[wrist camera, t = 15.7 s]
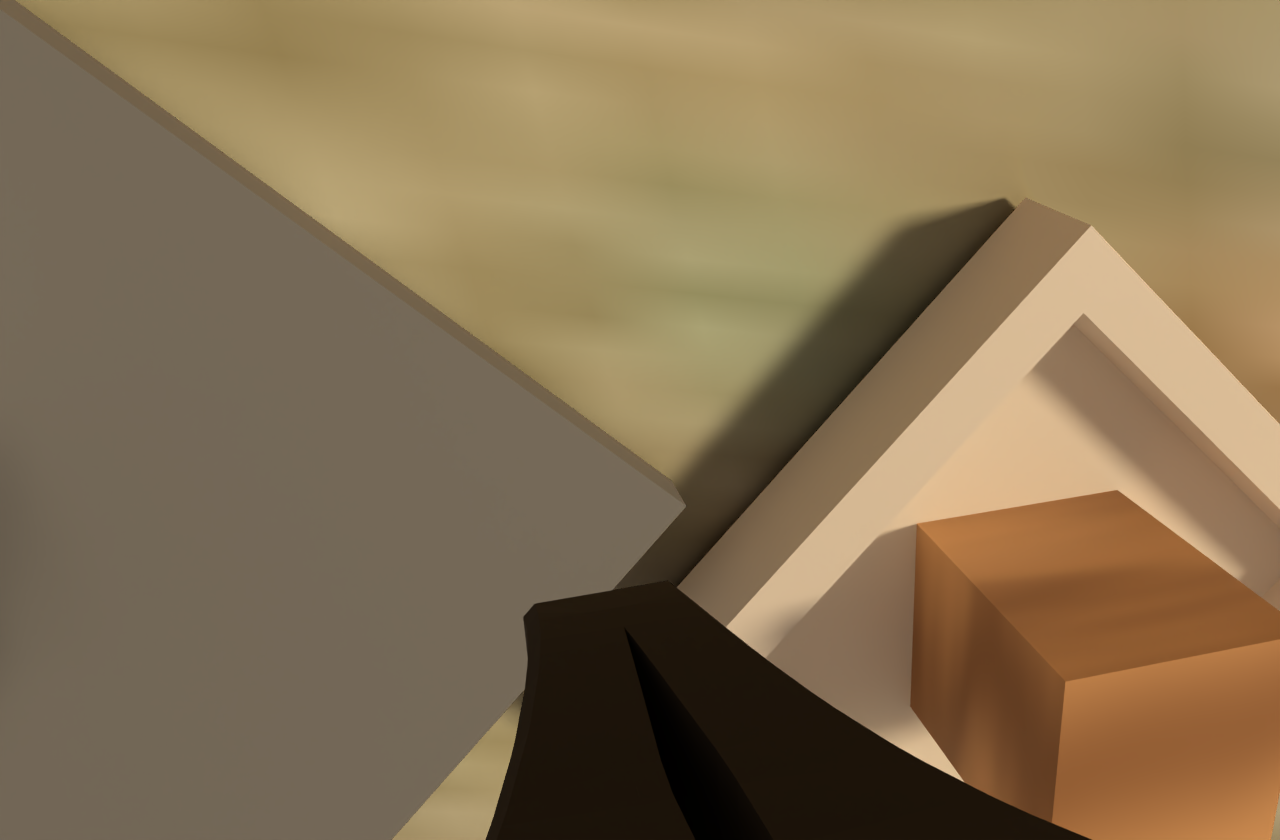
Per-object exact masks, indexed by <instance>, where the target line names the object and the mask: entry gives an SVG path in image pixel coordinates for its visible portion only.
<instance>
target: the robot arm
mask: <svg viewBox="0 0 1280 840" xmlns="http://www.w3.org/2000/svg"><path fill="white" fill-rule="evenodd" d="M523 621H524V629H525V638H526V647H527V656H528V662H527V673H526V682H525V691H524V697H523V702H522V707H521V712H520V717H519V723H518V728H517V733H516V738H515V743H514V747H513V751H512V755H511V759H510V763H509V766H508V769H507V773H506V776H505V780H504V783H503V787H502V790H501V793H500V797H499V800H498V804H497V807H496V810H495V814H494V817H493V820H492V823H491V826H490V829H489V832H488V834H487V837H486V840H1092V839H1089V838H1087V837H1085V836H1082V835H1080V834H1077V833H1075V832H1072V831H1070V830H1068V829H1065V828H1063V827H1060V826H1058V825H1055V824H1053V823H1051V822H1048V821H1046V820H1043V819H1041V818H1039V817H1036V816H1034V815H1031V814H1029V813H1027V812H1025V811H1023V810H1020V809H1018V808H1016V807H1014V806H1012V805H1010V804H1007V803H1005V802H1003V801H1001V800H999V799H996V798H994V797H992V796H990V795H988V794H986V793H984V792H982V791H980V790H978V789H976V788H974V787H972V786H971V785H969V784H967V783H965V782H963V781H961V780H959V779H957V778H955V777H953V776H951V775H949V774H947V773H945V772H943V771H941V770H939V769H937V768H936V767H934V766H932V765H930V764H928V763H926V762H924V761H922V760H920V759H918V758H917V757H915V756H913V755H911V754H910V753H908V752H906V751H904V750H903V749H901V748H899V747H897V746H896V745H894V744H892V743H890V742H889V741H887V740H885V739H884V738H882V737H881V736H879V735H877V734H876V733H874V732H873V731H871V730H869V729H868V728H866V727H865V726H863V725H862V724H860V723H858V722H857V721H855V720H854V719H852V718H850V717H849V716H847V715H846V714H844V713H842V712H841V711H839V710H838V709H836V708H834V707H833V706H831V705H830V704H829V703H827V702H826V701H824V700H823V699H821V698H820V697H818V696H817V695H815V694H814V693H812V692H811V691H810V690H808V689H807V688H805V687H804V686H803V685H801V684H800V683H798V682H797V681H796V680H794V679H793V678H792V677H790V676H789V675H787V674H786V673H785V672H783V671H782V670H781V669H779V668H778V667H776V666H775V665H774V664H772V663H771V662H770V661H768V660H767V659H766V658H764V657H763V656H762V655H761V654H759V653H758V652H757V651H755V650H754V649H753V648H751V647H750V646H749V645H748V644H746V643H745V642H744V641H743V640H741V639H740V638H739V637H738V636H736V635H735V634H734V633H732V632H731V631H730V630H729V629H727V628H726V627H725V626H724V625H723V624H721V623H720V622H719V621H718V620H716V619H715V618H714V617H713V616H711V615H710V614H709V613H708V612H706V611H705V610H704V609H703V608H702V607H700V606H699V605H698V604H697V603H695V602H694V601H693V600H692V599H690V598H689V597H688V596H687V595H685V594H684V593H683V592H682V591H680V590H679V589H678V588H676V587H675V586H674V585H673V584H671V583H670V582H669V581H663V582H657V583H652V584H646V585H640V586H634V587H628V588H622V589H617V590H611V591H605V592H599V593H593V594H587V595H582V596H576V597H570V598H564V599H558V600H552V601H547V602H541V603H535V604H534V605H533V606H532V607H531V608H530V610H529V611H528V612H527V613H526V614H525V615H524V616H523Z"/></svg>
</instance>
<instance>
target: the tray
mask: <svg viewBox="0 0 1280 840" xmlns="http://www.w3.org/2000/svg"><path fill="white" fill-rule="evenodd" d="M1114 490H1118V491H1120V492H1121V493H1122V494H1124V495H1125V496H1126V497H1128V498H1129V499H1130V500H1132V501H1133V502H1134V503H1136V504H1137V505H1138V506H1140V507H1141V508H1142V509H1144V510H1145V511H1146V512H1148V513H1149V514H1150V515H1152V516H1153V517H1154V518H1156V519H1157V520H1158V521H1160V522H1161V523H1162V524H1164V525H1165V526H1166V527H1168V528H1169V529H1170V530H1172V531H1173V532H1174V533H1176V534H1177V535H1178V536H1180V537H1181V538H1182V539H1184V540H1185V541H1186V542H1188V543H1189V544H1191V545H1192V546H1193V547H1195V548H1196V549H1197V550H1199V551H1200V552H1201V553H1203V554H1204V555H1205V556H1207V557H1208V558H1209V559H1211V560H1212V561H1213V562H1215V563H1216V564H1217V565H1219V566H1220V567H1221V568H1223V569H1224V570H1225V571H1227V572H1228V573H1229V574H1231V575H1232V576H1233V577H1235V578H1236V579H1237V580H1239V581H1240V582H1241V583H1243V584H1244V585H1245V586H1247V587H1248V588H1249V589H1251V590H1252V591H1253V592H1255V593H1256V594H1257V595H1259V596H1260V597H1261V598H1263V599H1264V600H1265V601H1267V602H1268V603H1269V604H1271V605H1272V606H1273V607H1275V608H1276V609H1277V610H1279V611H1280V424H1279V423H1278V422H1277V421H1276V420H1275V419H1274V418H1273V417H1272V416H1271V415H1270V414H1269V413H1268V412H1267V410H1266V409H1265V408H1264V407H1263V406H1262V405H1261V404H1260V403H1259V402H1258V401H1257V400H1256V399H1255V398H1254V397H1253V396H1252V395H1251V394H1250V393H1249V391H1248V390H1247V389H1246V388H1245V387H1244V386H1243V385H1242V384H1241V383H1240V382H1239V381H1238V380H1237V379H1236V378H1235V377H1234V376H1233V375H1232V373H1231V372H1230V371H1229V370H1228V369H1227V368H1226V367H1225V366H1224V365H1223V364H1222V363H1221V362H1220V361H1219V360H1218V359H1217V358H1216V357H1215V356H1214V354H1213V353H1212V352H1211V351H1210V350H1209V349H1208V348H1207V347H1206V346H1205V345H1204V344H1203V343H1202V342H1201V341H1200V340H1199V339H1198V338H1197V337H1196V335H1195V334H1194V333H1193V332H1192V331H1191V330H1190V329H1189V328H1188V327H1187V326H1186V325H1185V324H1184V323H1183V322H1182V321H1181V320H1180V319H1179V318H1178V316H1177V315H1176V314H1175V313H1174V312H1173V311H1172V310H1171V309H1170V308H1169V307H1168V306H1167V305H1166V304H1165V303H1164V302H1163V301H1162V300H1161V299H1160V297H1159V296H1158V295H1157V294H1156V293H1155V292H1154V291H1153V290H1152V289H1151V288H1150V287H1149V286H1148V285H1147V284H1146V283H1145V282H1144V281H1143V280H1142V278H1141V277H1140V276H1139V275H1138V274H1137V273H1136V272H1135V271H1134V270H1133V269H1132V268H1131V267H1130V266H1129V265H1128V264H1127V263H1126V262H1125V261H1124V259H1123V258H1122V257H1121V256H1120V255H1119V254H1118V253H1117V252H1116V251H1115V250H1114V249H1113V248H1112V247H1111V246H1110V245H1109V244H1108V243H1107V242H1106V240H1105V239H1104V238H1103V237H1102V236H1101V235H1100V234H1099V233H1098V232H1097V231H1096V230H1095V229H1094V228H1093V227H1092V226H1091V225H1089V224H1087V223H1084V222H1082V221H1080V220H1077V219H1075V218H1072V217H1070V216H1068V215H1065V214H1063V213H1061V212H1058V211H1056V210H1054V209H1051V208H1049V207H1046V206H1044V205H1042V204H1039V203H1037V202H1035V201H1032V200H1030V199H1028V198H1025V199H1024V200H1023V201H1022V202H1021V203H1020V204H1019V205H1018V207H1017V208H1016V209H1015V210H1014V211H1013V212H1012V213H1011V214H1010V215H1009V217H1008V218H1007V219H1006V220H1005V221H1004V222H1003V223H1002V224H1001V226H1000V227H999V228H998V229H997V230H996V231H995V232H994V233H993V234H992V236H991V237H990V238H989V239H988V240H987V241H986V242H985V243H984V245H983V246H982V247H981V248H980V249H979V250H978V251H977V252H976V253H975V255H974V256H973V257H972V258H971V259H970V260H969V261H968V262H967V264H966V265H965V266H964V267H963V268H962V269H961V270H960V271H959V272H958V274H957V275H956V276H955V277H954V278H953V279H952V280H951V281H950V283H949V284H948V285H947V286H946V287H945V288H944V289H943V290H942V291H941V293H940V294H939V295H938V296H937V297H936V298H935V299H934V300H933V302H932V303H931V304H930V305H929V306H928V307H927V308H926V309H925V310H924V312H923V313H922V314H921V315H920V316H919V317H918V318H917V319H916V321H915V322H914V323H913V324H912V325H911V326H910V327H909V328H908V329H907V331H906V332H905V333H904V334H903V335H902V336H901V337H900V338H899V340H898V341H897V342H896V343H895V344H894V345H893V346H892V347H891V348H890V350H889V351H888V352H887V353H886V354H885V355H884V356H883V357H882V359H881V360H880V361H879V362H878V363H877V364H876V365H875V366H874V367H873V369H872V370H871V371H870V372H869V373H868V374H867V375H866V376H865V378H864V379H863V380H862V381H861V382H860V383H859V384H858V385H857V386H856V388H855V389H854V390H853V391H852V392H851V393H850V394H849V395H848V397H847V398H846V399H845V400H844V401H843V402H842V403H841V404H840V405H839V407H838V408H837V409H836V410H835V411H834V412H833V413H832V414H831V416H830V417H829V418H828V419H827V420H826V421H825V422H824V423H823V424H822V426H821V427H820V428H819V429H818V430H817V431H816V432H815V433H814V435H813V436H812V437H811V438H810V439H809V440H808V441H807V442H806V443H805V445H804V446H803V447H802V448H801V449H800V450H799V451H798V452H797V454H796V455H795V456H794V457H793V458H792V459H791V460H790V461H789V462H788V464H787V465H786V466H785V467H784V468H783V469H782V470H781V471H780V473H779V474H778V475H777V476H776V477H775V478H774V479H773V480H772V481H771V483H770V484H769V485H768V486H767V487H766V488H765V489H764V490H763V492H762V493H761V494H760V495H759V496H758V497H757V498H756V499H755V500H754V502H753V503H752V504H751V505H750V506H749V507H748V508H747V509H746V510H745V512H744V513H743V514H742V515H741V516H740V517H739V518H738V519H737V521H736V522H735V523H734V524H733V525H732V526H731V527H730V528H729V529H728V531H727V532H726V533H725V534H724V535H723V536H722V537H721V538H720V540H719V541H718V542H717V543H716V544H715V545H714V546H713V547H712V548H711V550H710V551H709V552H708V553H707V554H706V555H705V556H704V557H703V559H702V560H701V561H700V562H699V563H698V564H697V565H696V566H695V567H694V569H693V570H692V571H691V572H690V573H689V574H688V575H687V576H686V578H685V579H684V580H683V581H682V582H681V583H680V584H679V585H678V586H677V588H678V589H679V590H680V591H682V592H683V593H684V594H685V595H687V596H688V597H689V598H690V599H692V600H693V601H694V602H695V603H697V604H698V605H699V606H700V607H702V608H703V609H704V610H705V611H706V612H708V613H709V614H710V615H711V616H713V617H714V618H715V619H716V620H718V621H719V622H720V623H721V624H723V625H724V626H725V627H726V628H727V629H729V630H730V631H731V632H732V633H734V634H735V635H736V636H738V637H739V638H740V639H741V640H743V641H744V642H745V643H746V644H748V645H749V646H750V647H751V648H753V649H754V650H755V651H757V652H758V653H759V654H761V655H762V656H763V657H764V658H766V659H767V660H768V661H770V662H771V663H772V664H774V665H775V666H776V667H778V668H779V669H781V670H782V671H783V672H785V673H786V674H787V675H789V676H790V677H792V678H793V679H794V680H796V681H797V682H798V683H800V684H801V685H803V686H804V687H805V688H807V689H808V690H810V691H811V692H812V693H814V694H815V695H817V696H818V697H820V698H821V699H823V700H824V701H826V702H827V703H829V704H830V705H831V706H833V707H834V708H836V709H838V710H839V711H841V712H842V713H844V714H846V715H847V716H849V717H850V718H852V719H854V720H855V721H857V722H858V723H860V724H862V725H863V726H865V727H866V728H868V729H869V730H871V731H873V732H874V733H876V734H877V735H879V736H881V737H882V738H884V739H885V740H887V741H889V742H890V743H892V744H894V745H896V746H897V747H899V748H901V749H903V750H904V751H906V752H908V753H910V754H911V755H913V756H915V757H917V758H918V759H920V760H922V761H924V762H926V763H928V764H930V765H932V766H934V767H936V768H937V769H939V770H941V771H943V772H945V773H947V774H949V775H951V776H953V777H955V778H957V779H959V780H961V781H963V779H962V778H961V777H960V775H959V774H958V773H957V771H956V770H955V768H954V767H953V766H952V764H951V763H950V761H949V760H948V759H947V757H946V756H945V754H944V753H943V752H942V750H941V749H940V747H939V746H938V745H937V743H936V742H935V740H934V739H933V738H932V736H931V735H930V733H929V732H928V731H927V729H926V728H925V727H924V725H923V724H922V722H921V721H920V720H919V718H918V717H917V715H916V714H915V713H914V711H913V710H912V708H911V707H910V698H911V670H912V642H913V614H914V586H915V559H916V531H917V523H923V522H929V521H935V520H941V519H947V518H953V517H959V516H965V515H971V514H977V513H983V512H989V511H995V510H1001V509H1007V508H1013V507H1019V506H1025V505H1031V504H1036V503H1042V502H1048V501H1054V500H1060V499H1066V498H1072V497H1078V496H1084V495H1090V494H1096V493H1102V492H1108V491H1114ZM963 782H964V781H963Z"/></svg>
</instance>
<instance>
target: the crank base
mask: <svg viewBox="0 0 1280 840" xmlns="http://www.w3.org/2000/svg"><path fill="white" fill-rule="evenodd" d="M685 507H686V504H685V503H684V501H683V499H682V498H681V496H680V494H679V492H678V491H677V489H676V487H675V486H674V484H673V482H672V481H671V480H670V479H669V478H667V477H666V476H665V475H663V474H662V473H660V472H659V471H658V470H656V469H655V468H654V467H652V466H651V465H649V464H648V463H647V462H645V461H644V460H643V459H641V458H640V457H639V456H637V455H636V454H634V453H633V452H632V451H630V450H629V449H628V448H626V447H625V446H623V445H622V444H621V443H619V442H618V441H617V440H615V439H614V438H613V437H611V436H610V435H608V434H607V433H606V432H604V431H603V430H602V429H600V428H599V427H598V426H596V425H595V424H593V423H592V422H591V421H589V420H588V419H587V418H585V417H584V416H582V415H581V414H580V413H578V412H577V411H576V410H574V409H573V408H572V407H570V406H569V405H567V404H566V403H565V402H563V401H562V400H561V399H559V398H558V397H556V396H555V395H554V394H552V393H551V392H550V391H548V390H547V389H546V388H544V387H543V386H541V385H540V384H539V383H537V382H536V381H535V380H533V379H532V378H531V377H529V376H528V375H526V374H525V373H524V372H522V371H521V370H520V369H518V368H517V367H515V366H514V365H513V364H511V363H510V362H509V361H507V360H506V359H505V358H503V357H502V356H500V355H499V354H498V353H496V352H495V351H494V350H492V349H491V348H489V347H488V346H487V345H485V344H484V343H483V342H481V341H480V340H479V339H477V338H476V337H474V336H473V335H472V334H470V333H469V332H468V331H466V330H465V329H464V328H462V327H461V326H459V325H458V324H457V323H455V322H454V321H453V320H451V319H450V318H448V317H447V316H446V315H444V314H443V313H442V312H440V311H439V310H438V309H436V308H435V307H433V306H432V305H431V304H429V303H428V302H427V301H425V300H424V299H422V298H421V297H420V296H418V295H417V294H416V293H414V292H413V291H412V290H410V289H409V288H407V287H406V286H405V285H403V284H402V283H401V282H399V281H398V280H397V279H395V278H394V277H392V276H391V275H390V274H388V273H387V272H386V271H384V270H383V269H381V268H380V267H379V266H377V265H376V264H375V263H373V262H372V261H371V260H369V259H368V258H366V257H365V256H364V255H362V254H361V253H360V252H358V251H357V250H355V249H354V248H353V247H351V246H350V245H349V244H347V243H346V242H345V241H343V240H342V239H340V238H339V237H338V236H336V235H335V234H334V233H332V232H331V231H330V230H328V229H327V228H325V227H324V226H323V225H321V224H320V223H319V222H317V221H316V220H314V219H313V218H312V217H310V216H309V215H308V214H306V213H305V212H304V211H302V210H301V209H299V208H298V207H297V206H295V205H294V204H293V203H291V202H290V201H288V200H287V199H286V198H284V197H283V196H282V195H280V194H279V193H278V192H276V191H275V190H273V189H272V188H271V187H269V186H268V185H267V184H265V183H264V182H263V181H261V180H260V179H258V178H257V177H256V176H254V175H253V174H252V173H250V172H249V171H247V170H246V169H245V168H243V167H242V166H241V165H239V164H238V163H237V162H235V161H234V160H232V159H231V158H230V157H228V156H227V155H226V154H224V153H223V152H221V151H220V150H219V149H217V148H216V147H215V146H213V145H212V144H211V143H209V142H208V141H206V140H205V139H204V138H202V137H201V136H200V135H198V134H197V133H195V132H194V131H193V130H191V129H190V128H189V127H187V126H186V125H185V124H183V123H182V122H180V121H179V120H178V119H176V118H175V117H174V116H172V115H171V114H170V113H168V112H167V111H165V110H164V109H163V108H161V107H160V106H159V105H157V104H156V103H154V102H153V101H152V100H150V99H149V98H148V97H146V96H145V95H144V94H142V93H141V92H139V91H138V90H137V89H135V88H134V87H133V86H131V85H130V84H128V83H127V82H126V81H124V80H123V79H122V78H120V77H119V76H118V75H116V74H115V73H113V72H112V71H111V70H109V69H108V68H107V67H105V66H104V65H103V64H101V63H100V62H98V61H97V60H96V59H94V58H93V57H92V56H90V55H89V54H87V53H86V52H85V51H83V50H82V49H81V48H79V47H78V46H77V45H75V44H74V43H72V42H71V41H70V40H68V39H67V38H66V37H64V36H63V35H61V34H60V33H59V32H57V31H56V30H55V29H53V28H52V27H51V26H49V25H48V24H46V23H45V22H44V21H42V20H41V19H40V18H38V17H37V16H36V15H34V14H33V13H31V12H30V11H29V10H27V9H26V8H25V7H23V6H22V5H20V4H19V3H18V2H16V1H15V0H0V840H392V839H393V838H394V836H395V835H396V834H397V833H398V832H399V831H400V830H401V829H402V827H403V826H404V825H405V824H406V823H407V822H408V821H409V820H410V818H411V817H412V816H413V815H414V814H415V813H416V812H417V810H418V809H419V808H420V807H421V806H422V805H423V804H424V803H425V801H426V800H427V799H428V798H429V797H430V796H431V795H432V794H433V792H434V791H435V790H436V789H437V788H438V787H439V786H440V784H441V783H442V782H443V781H444V780H445V779H446V778H447V777H448V775H449V774H450V773H451V772H452V771H453V770H454V769H455V767H456V766H457V765H458V764H459V763H460V762H461V761H462V760H463V758H464V757H465V756H466V755H467V754H468V753H469V752H470V751H471V749H472V748H473V747H474V746H475V745H476V744H477V743H478V741H479V740H480V739H481V738H482V737H483V736H484V735H485V734H486V732H487V731H488V730H489V729H490V728H491V727H492V726H493V725H494V723H495V722H496V721H497V720H498V719H499V718H500V717H501V715H502V714H503V713H504V712H505V711H506V710H507V709H508V708H509V706H510V705H511V704H512V703H513V702H514V701H515V700H516V699H517V697H518V696H519V695H520V694H521V693H522V692H523V691H524V689H525V682H526V673H527V662H528V656H527V647H526V638H525V629H524V621H523V616H524V615H525V614H526V613H527V612H528V611H529V610H530V608H531V607H532V606H533V605H534V604H535V603H541V602H547V601H552V600H558V599H564V598H570V597H576V596H582V595H587V594H593V593H599V592H605V591H611V590H613V589H614V588H615V587H616V585H617V584H618V583H619V582H620V581H621V580H622V579H623V577H624V576H625V575H626V574H627V573H628V572H629V571H630V570H631V568H632V567H633V566H634V565H635V564H636V563H637V562H638V561H639V559H640V558H641V557H642V556H643V555H644V554H645V553H646V551H647V550H648V549H649V548H650V547H651V546H652V545H653V544H654V542H655V541H656V540H657V539H658V538H659V537H660V536H661V535H662V533H663V532H664V531H665V530H666V529H667V528H668V527H669V525H670V524H671V523H672V522H673V521H674V520H675V519H676V518H677V516H678V515H679V514H680V513H681V512H682V511H683V510H684V508H685Z"/></svg>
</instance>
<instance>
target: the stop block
mask: <svg viewBox="0 0 1280 840" xmlns="http://www.w3.org/2000/svg"><path fill="white" fill-rule="evenodd" d="M910 707H911V708H912V710H913V711H914V713H915V714H916V715H917V717H918V718H919V720H920V721H921V722H922V724H923V725H924V727H925V728H926V729H927V731H928V732H929V733H930V735H931V736H932V738H933V739H934V740H935V742H936V743H937V745H938V746H939V747H940V749H941V750H942V752H943V753H944V754H945V756H946V757H947V759H948V760H949V761H950V763H951V764H952V766H953V767H954V768H955V770H956V771H957V773H958V774H959V775H960V777H961V778H962V779H963V781H964V782H965V783H967V784H969V785H971V786H972V787H974V788H976V789H978V790H980V791H982V792H984V793H986V794H988V795H990V796H992V797H994V798H996V799H999V800H1001V801H1003V802H1005V803H1007V804H1010V805H1012V806H1014V807H1016V808H1018V809H1020V810H1023V811H1025V812H1027V813H1029V814H1031V815H1034V816H1036V817H1039V818H1041V819H1043V820H1046V821H1048V822H1051V823H1053V824H1055V825H1058V826H1060V827H1063V828H1065V829H1068V830H1070V831H1072V832H1075V833H1077V834H1080V835H1082V836H1085V837H1087V838H1089V839H1092V840H1271V836H1272V830H1273V825H1274V820H1275V814H1276V809H1277V804H1278V798H1279V793H1280V611H1279V610H1277V609H1276V608H1275V607H1273V606H1272V605H1271V604H1269V603H1268V602H1267V601H1265V600H1264V599H1263V598H1261V597H1260V596H1259V595H1257V594H1256V593H1255V592H1253V591H1252V590H1251V589H1249V588H1248V587H1247V586H1245V585H1244V584H1243V583H1241V582H1240V581H1239V580H1237V579H1236V578H1235V577H1233V576H1232V575H1231V574H1229V573H1228V572H1227V571H1225V570H1224V569H1223V568H1221V567H1220V566H1219V565H1217V564H1216V563H1215V562H1213V561H1212V560H1211V559H1209V558H1208V557H1207V556H1205V555H1204V554H1203V553H1201V552H1200V551H1199V550H1197V549H1196V548H1195V547H1193V546H1192V545H1191V544H1189V543H1188V542H1186V541H1185V540H1184V539H1182V538H1181V537H1180V536H1178V535H1177V534H1176V533H1174V532H1173V531H1172V530H1170V529H1169V528H1168V527H1166V526H1165V525H1164V524H1162V523H1161V522H1160V521H1158V520H1157V519H1156V518H1154V517H1153V516H1152V515H1150V514H1149V513H1148V512H1146V511H1145V510H1144V509H1142V508H1141V507H1140V506H1138V505H1137V504H1136V503H1134V502H1133V501H1132V500H1130V499H1129V498H1128V497H1126V496H1125V495H1124V494H1122V493H1121V492H1120V491H1118V490H1114V491H1108V492H1102V493H1096V494H1090V495H1084V496H1078V497H1072V498H1066V499H1060V500H1054V501H1048V502H1042V503H1036V504H1031V505H1025V506H1019V507H1013V508H1007V509H1001V510H995V511H989V512H983V513H977V514H971V515H965V516H959V517H953V518H947V519H941V520H935V521H929V522H923V523H917V531H916V559H915V586H914V614H913V642H912V670H911V698H910Z"/></svg>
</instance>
